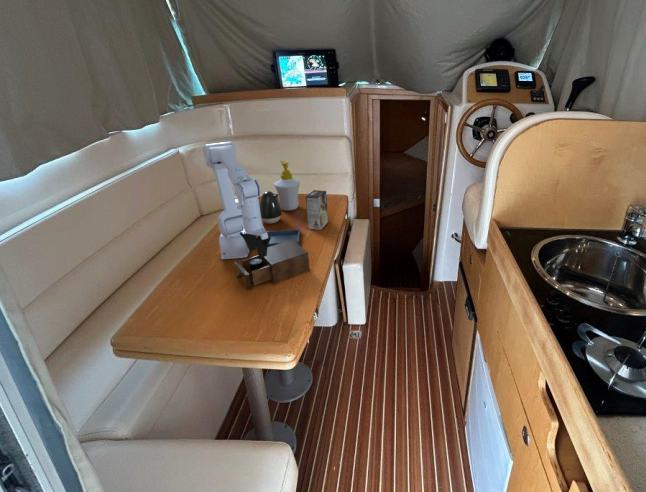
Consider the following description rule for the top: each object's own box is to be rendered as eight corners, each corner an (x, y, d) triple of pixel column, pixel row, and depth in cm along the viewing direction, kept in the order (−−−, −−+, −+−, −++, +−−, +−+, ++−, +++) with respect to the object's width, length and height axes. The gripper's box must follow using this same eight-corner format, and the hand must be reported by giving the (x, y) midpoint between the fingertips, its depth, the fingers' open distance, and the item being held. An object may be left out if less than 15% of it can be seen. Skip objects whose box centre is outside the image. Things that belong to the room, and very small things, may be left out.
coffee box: (316, 220, 173) (313, 189, 167) (328, 222, 172) (326, 190, 166) (307, 228, 165) (305, 196, 159) (321, 230, 164) (318, 197, 158)
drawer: (243, 291, 118) (241, 276, 116) (232, 276, 126) (229, 262, 124) (283, 276, 126) (281, 262, 124) (270, 263, 134) (268, 250, 132)
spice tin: (250, 277, 123) (248, 265, 122) (252, 271, 127) (250, 259, 125) (262, 276, 124) (261, 264, 122) (264, 270, 128) (262, 258, 126)
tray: (257, 248, 147) (257, 244, 146) (262, 235, 158) (261, 231, 157) (298, 245, 150) (298, 241, 149) (300, 233, 161) (300, 229, 160)
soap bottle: (295, 202, 196) (291, 158, 187) (306, 209, 187) (302, 163, 178) (272, 207, 188) (267, 161, 180) (282, 214, 179) (277, 167, 170)
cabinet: (274, 283, 124) (271, 264, 121) (259, 268, 133) (257, 250, 130) (309, 270, 132) (308, 252, 129) (293, 256, 141) (292, 239, 138)
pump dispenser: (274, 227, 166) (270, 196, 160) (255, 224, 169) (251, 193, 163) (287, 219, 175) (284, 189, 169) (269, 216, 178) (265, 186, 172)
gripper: (230, 214, 121) (237, 251, 125) (250, 224, 112) (257, 263, 116) (250, 209, 126) (256, 244, 130) (271, 218, 117) (276, 256, 121)
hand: (258, 253), depth 123 cm, fingers open, 7 cm apart
